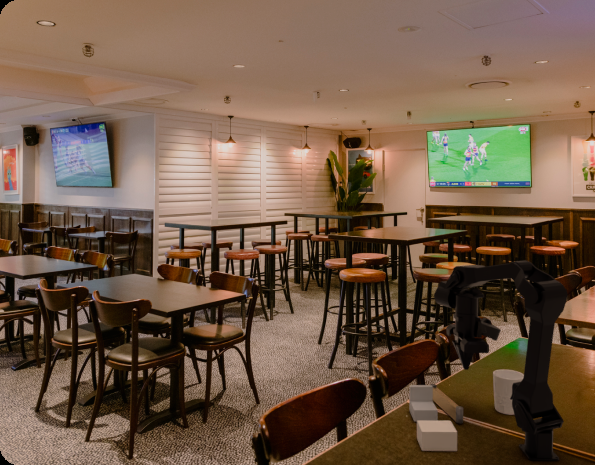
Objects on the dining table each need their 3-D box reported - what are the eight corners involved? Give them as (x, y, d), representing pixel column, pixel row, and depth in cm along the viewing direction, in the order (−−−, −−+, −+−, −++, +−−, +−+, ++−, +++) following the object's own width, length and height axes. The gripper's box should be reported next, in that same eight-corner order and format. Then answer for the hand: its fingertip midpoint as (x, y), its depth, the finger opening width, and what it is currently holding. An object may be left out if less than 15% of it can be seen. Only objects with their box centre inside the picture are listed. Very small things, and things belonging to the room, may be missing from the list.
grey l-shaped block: (437, 421, 132) (437, 395, 132) (414, 421, 132) (414, 395, 132) (431, 410, 139) (431, 385, 139) (409, 410, 139) (409, 385, 139)
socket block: (457, 451, 117) (457, 432, 117) (421, 450, 118) (422, 431, 117) (450, 438, 123) (450, 420, 123) (416, 438, 124) (416, 420, 123)
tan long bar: (464, 423, 131) (464, 408, 130) (457, 424, 130) (457, 409, 130) (434, 396, 148) (435, 383, 148) (429, 397, 148) (429, 384, 148)
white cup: (498, 401, 145) (498, 367, 144) (527, 408, 140) (528, 373, 139) (488, 411, 139) (489, 375, 138) (518, 418, 134) (519, 381, 133)
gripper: (510, 320, 126) (509, 381, 127) (485, 304, 145) (484, 358, 146) (465, 320, 127) (464, 381, 128) (446, 304, 145) (445, 358, 146)
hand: (466, 369), depth 137 cm, fingers closed
